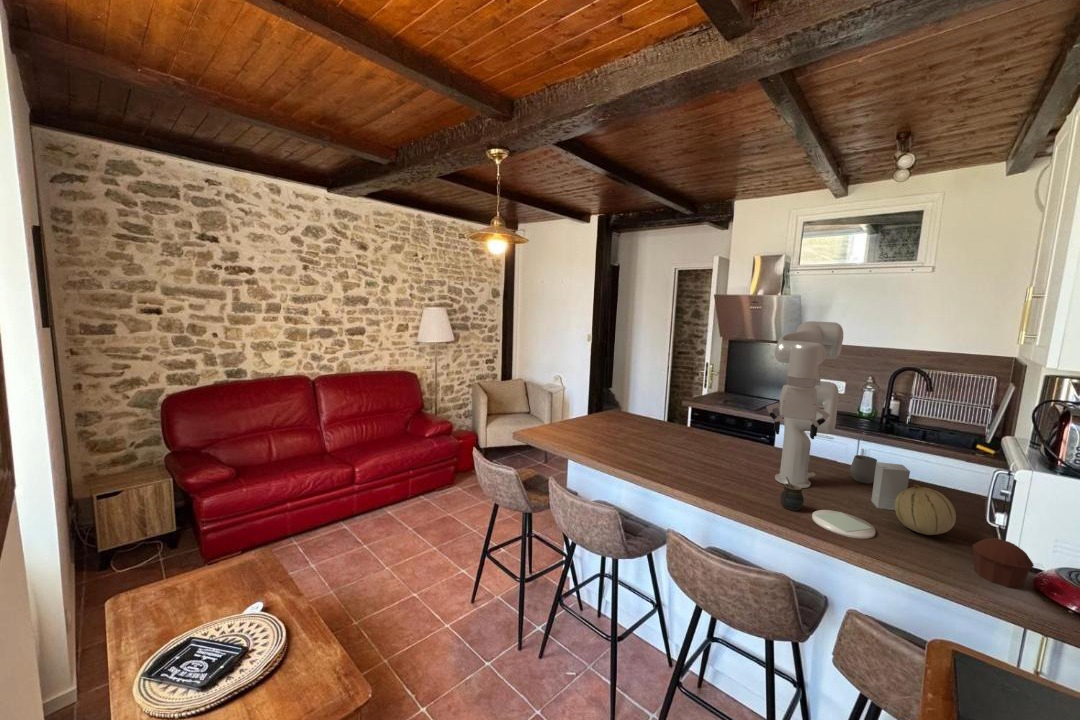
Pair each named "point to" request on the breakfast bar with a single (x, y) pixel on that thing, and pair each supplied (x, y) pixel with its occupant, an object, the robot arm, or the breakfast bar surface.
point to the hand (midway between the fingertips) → (794, 435)
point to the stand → (843, 524)
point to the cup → (863, 469)
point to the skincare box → (888, 484)
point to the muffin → (1001, 562)
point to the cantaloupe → (925, 510)
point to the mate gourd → (792, 497)
